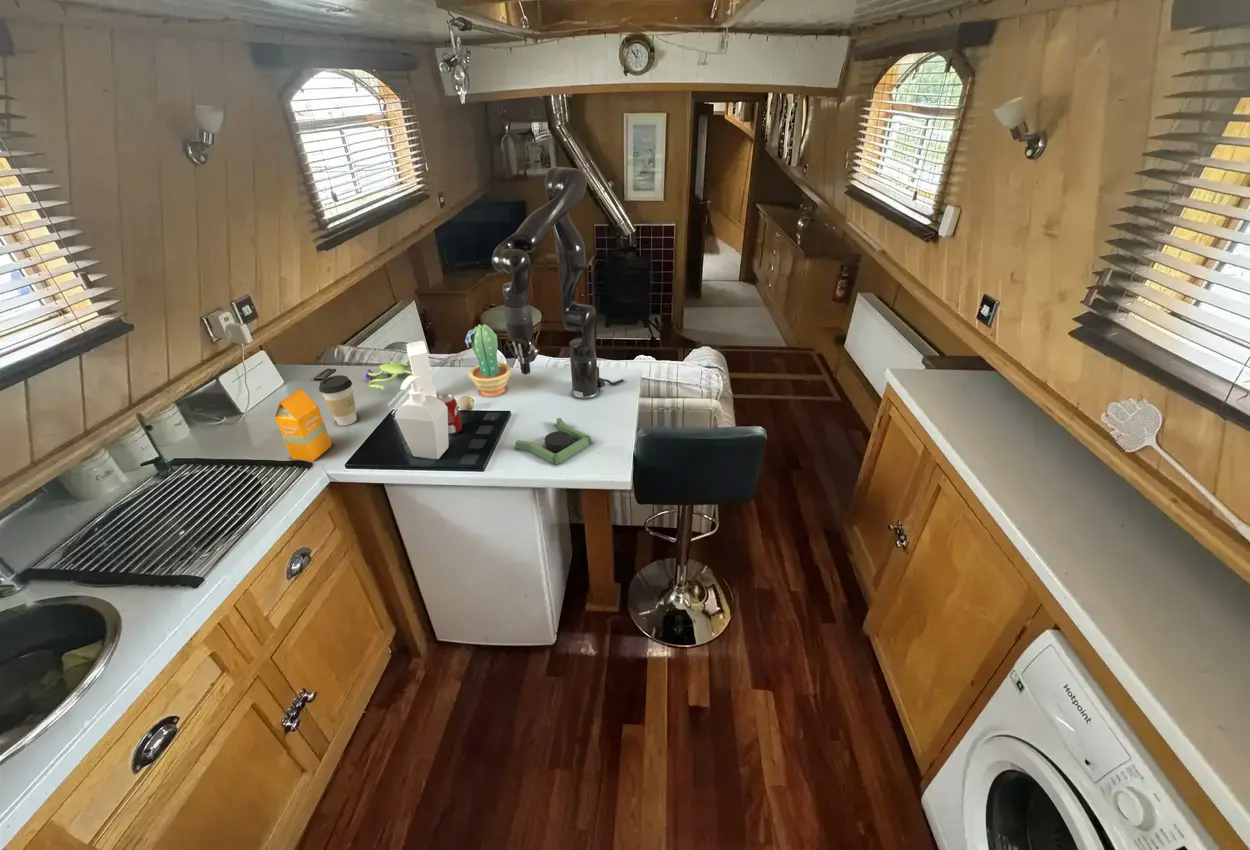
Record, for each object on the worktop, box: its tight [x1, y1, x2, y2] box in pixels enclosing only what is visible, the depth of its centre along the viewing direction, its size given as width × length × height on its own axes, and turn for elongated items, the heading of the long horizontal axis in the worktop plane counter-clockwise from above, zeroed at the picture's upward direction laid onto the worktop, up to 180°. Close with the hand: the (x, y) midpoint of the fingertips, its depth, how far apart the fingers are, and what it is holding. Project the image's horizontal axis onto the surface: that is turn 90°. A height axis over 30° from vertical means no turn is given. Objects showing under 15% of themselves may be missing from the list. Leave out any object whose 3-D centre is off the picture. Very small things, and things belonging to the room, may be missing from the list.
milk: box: [405, 340, 438, 398], centre depth 193 cm, size 6×6×22 cm
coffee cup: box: [318, 374, 358, 426], centre depth 183 cm, size 10×10×15 cm
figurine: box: [362, 360, 413, 392], centre depth 210 cm, size 18×27×6 cm
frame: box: [515, 417, 592, 466], centre depth 172 cm, size 19×16×2 cm
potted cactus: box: [464, 323, 512, 397], centre depth 197 cm, size 15×15×25 cm
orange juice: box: [274, 388, 332, 462], centre depth 166 cm, size 8×9×20 cm
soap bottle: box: [394, 374, 449, 460], centre depth 163 cm, size 12×10×26 cm
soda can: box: [437, 393, 463, 436], centre depth 177 cm, size 7×7×12 cm
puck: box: [544, 430, 572, 454], centre depth 171 cm, size 8×8×3 cm
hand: (525, 373), depth 167 cm, fingers closed
